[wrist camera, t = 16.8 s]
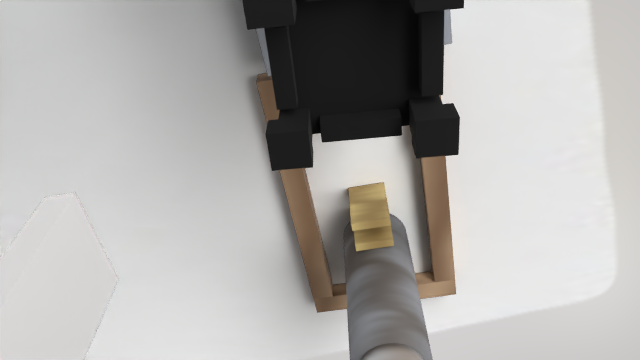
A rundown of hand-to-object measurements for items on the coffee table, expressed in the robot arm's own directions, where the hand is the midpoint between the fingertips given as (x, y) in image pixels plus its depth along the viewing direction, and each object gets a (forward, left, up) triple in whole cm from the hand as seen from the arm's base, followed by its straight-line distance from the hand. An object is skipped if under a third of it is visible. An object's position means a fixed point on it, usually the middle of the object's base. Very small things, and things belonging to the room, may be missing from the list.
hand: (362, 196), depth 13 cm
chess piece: (0, 0, -28) cm, 28 cm away
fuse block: (-1, -19, -29) cm, 35 cm away
